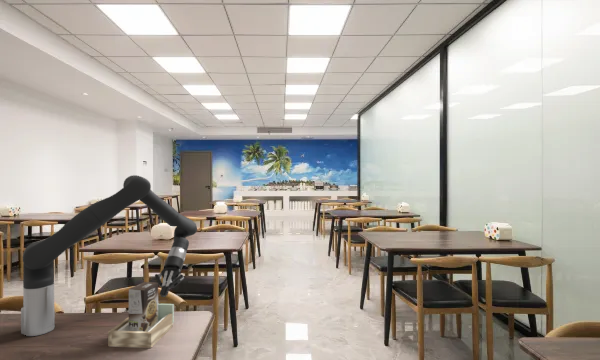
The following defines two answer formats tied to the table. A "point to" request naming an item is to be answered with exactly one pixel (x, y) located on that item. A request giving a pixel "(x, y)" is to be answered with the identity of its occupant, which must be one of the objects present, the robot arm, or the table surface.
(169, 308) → the drawer
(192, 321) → the table surface
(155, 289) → the coffee box
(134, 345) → the box
